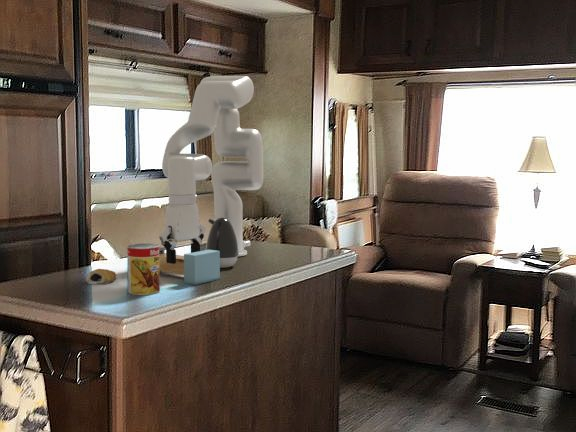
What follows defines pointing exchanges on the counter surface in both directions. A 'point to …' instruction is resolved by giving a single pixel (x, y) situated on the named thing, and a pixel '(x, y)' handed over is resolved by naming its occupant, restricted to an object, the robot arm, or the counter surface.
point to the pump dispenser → (223, 241)
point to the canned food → (143, 269)
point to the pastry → (100, 276)
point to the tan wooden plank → (169, 267)
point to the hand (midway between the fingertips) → (183, 260)
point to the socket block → (201, 267)
